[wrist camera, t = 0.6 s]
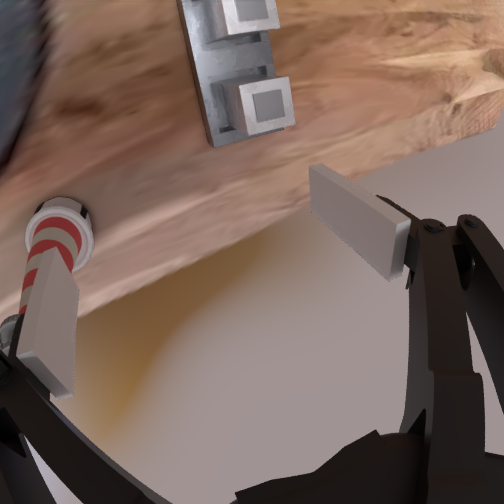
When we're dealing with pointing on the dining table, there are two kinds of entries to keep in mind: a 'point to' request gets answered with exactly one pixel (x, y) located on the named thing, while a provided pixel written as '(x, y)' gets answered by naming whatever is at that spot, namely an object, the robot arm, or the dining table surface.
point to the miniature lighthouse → (49, 236)
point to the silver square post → (255, 102)
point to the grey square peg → (236, 18)
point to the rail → (222, 69)
